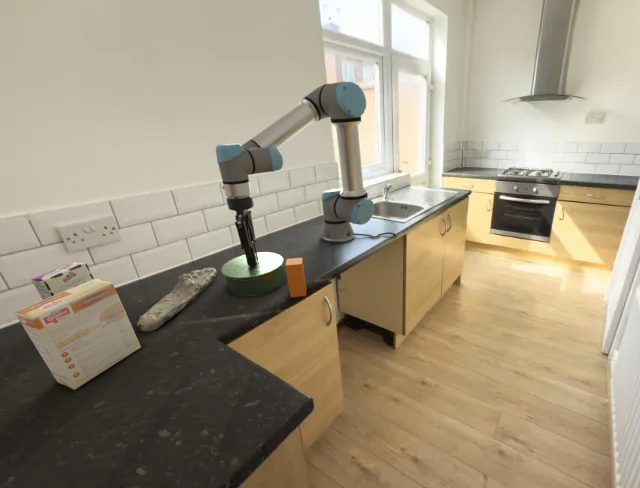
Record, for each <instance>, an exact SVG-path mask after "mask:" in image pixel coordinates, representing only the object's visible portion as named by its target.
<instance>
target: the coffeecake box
mask: <svg viewBox="0 0 640 488" xmlns="http://www.w3.org/2000/svg"><path fill="white" fill-rule="evenodd" d="M122 303H123V302H121V299H120V297H119V294H118V292H117V289H116V288H115V285H114V283H113V282H110V281H105V280H102V279H99V278H94V279H93V280H90V281H88V282H85V283H83V284H81V285H78V286H76V287H74V288H71V289H69V290H66V291H64V292H61V293H59V294H56V295H54V296H52V297H49V298H47V299H44V300H43V299H41V300H39V301H37V302H35V303H32V304H30V305H28V306H25V307H23V308H20V309H18V310H15V311H14V314H15V316H16V317H17V319H18V321H19V322H20V324H21V326H22V327H23V329H24V330H25V332H26V334H27V336H28V337H29V339H30V340H31V342H32V344H33V346H34V347H35V348H36V350H37V352H38V354H39V355H40V356H41V358H42V360H43V361H44V363H45V365H46V367H47V368H48V369H49V371H50V373H51V374H52V376H53V377H54V379H55V381H56V382H57V383H59V384H60V385H63V386H65V387H68V388H70V389H71V390H74V391H76V390H77V389H78V388H80V387H82V386H83V385H84V384H86V383H87V382H89V381H92V379H94V378H95V377H97V376H99V375H100V374H101V373H103V372H105V371H107V370H108V369H110V368H111V367H113V366H114V365H116V364H117V363H119V362H120V361H122V360H124V359H125V358H128V357H129V356H130V355H131V354H133V353H134V352H136V351H138V350H139V349H141V348H142V345H141V344H140V341H139V340H138V338H137V335H136V333H135V331H134V328H133V326H132V323H131V321H130V319H129V317H128V315H127V312H126V309H125V308H124V305H123V304H122Z"/></svg>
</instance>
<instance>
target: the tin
mask: <svg viewBox="0 0 640 488" xmlns="http://www.w3.org/2000/svg"><path fill="white" fill-rule="evenodd" d="M284 267H285V266H284V263H283V264H282V266H281V267H280V268H278V269H277V270H275V271H274V272H271V273H269V274H267V275H263V276H260V277H256V278H249V279H233V278H229V277H226V276H224V278H225V281H226V286H227V289H228V291H229V292H230V294H232V295H235V296H238V297H239V296H241V297H253V296H259V295H263V294H266V293H269V292H272V291H274V290H276V289H278V288H279V287H281V286H282V285H283V284H284V282H285V281H286V274H285V273H286V271H285V268H284Z"/></svg>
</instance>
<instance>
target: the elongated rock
mask: <svg viewBox="0 0 640 488" xmlns="http://www.w3.org/2000/svg"><path fill="white" fill-rule="evenodd" d="M217 275H218V272H217V269H215V268H214V267H205V268H202V269H194V270H192V271H189V272H188V273H182V274H180V275H179V276H178V278H177V279H178V282H177V283H176V284H175V285H174V286H173V289H172V290H171V291H169V293H167V294H166V295H164V296H162V298H161V299H160V300H159V301H158V302H156V303H155V304H154V305H152V306H151V308H149V309H147V310H146V312H145V313H144V314H141V315H140V316H139V317H138V321H137V323H136V326H137V327H138V328H139V327H140V331H142V332H152V331H156V330H158V329H159V328H160V327H161V326H163V325H164V324H165V323H166V322H169V321H170V320H171V319H173V317H175V315H177V314H179V313H180V312H182V311H183V309H185V307H187V306H188V305H189V304H190V303H192V302H193V301H195V300H196V298H197V297H198V296H199V295H200V294H201V293H202V292H204V291H205V290H206V289H207V287H208V286H210V285H211V283H213V281H214V279H215V278H216V277H217Z"/></svg>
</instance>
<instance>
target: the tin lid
mask: <svg viewBox="0 0 640 488" xmlns="http://www.w3.org/2000/svg"><path fill="white" fill-rule="evenodd" d="M251 244H252V247H253V249H254V254H255V259H256V264H257V265H253V266H248V264H247V259H246V255H245V254H243V255H239V256H237V257H233V258H232V259H230V260H228V261H227V262H225V263H224V264H223V265H222V267H221V273H222V275H223V276H224V277H225V276H226V277H229V278H233V279H252V278H257V277H262V276H265V275H267V274H270V273H272V272H274V271H275V270H277V269H278V268H280V267H281V266H282V264H283V265H284V258H283V256H282V255H281V254H278V253H275V252H270V251H259V252H257V256H258V261H257V258H256V253H255V248H254V244H253V241H251Z"/></svg>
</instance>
